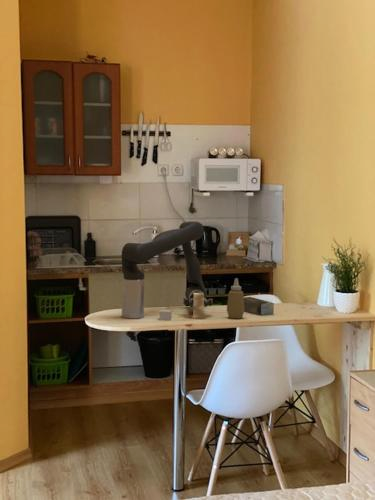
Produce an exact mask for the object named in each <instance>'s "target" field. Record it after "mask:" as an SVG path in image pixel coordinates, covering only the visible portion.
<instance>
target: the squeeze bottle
mask: <svg viewBox="0 0 375 500" xmlns="http://www.w3.org/2000/svg"><path fill="white" fill-rule="evenodd" d="M244 310H245V309H244V291H242V286H240V284H239V279H238V277H237V278H234V282H233V285H231V286H230V291H228V297H227V305H226V312H227V315H228V318H230V319H233V320H234V319H237V320H239V319H242V318H243V315H244V313H245V312H244Z"/></svg>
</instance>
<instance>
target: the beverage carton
mask: <svg viewBox="0 0 375 500" xmlns="http://www.w3.org/2000/svg"><path fill="white" fill-rule="evenodd" d="M274 305H275V304H274V302H271V301H267V300H264V299H259V298H257V297H252V296H246V297H244V309H245V310H244V313H249V314H252V315H256V316H260V317H264V316H265V317H266V316H273V315H274V311H275V309H274Z"/></svg>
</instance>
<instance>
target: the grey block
mask: <svg viewBox="0 0 375 500" xmlns="http://www.w3.org/2000/svg"><path fill="white" fill-rule="evenodd" d="M172 313H173V311H172V309H160V310H159V321H172V316H173V314H172Z"/></svg>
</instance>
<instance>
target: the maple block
mask: <svg viewBox="0 0 375 500" xmlns="http://www.w3.org/2000/svg"><path fill="white" fill-rule="evenodd" d="M204 307H205V306H204V293H194V296H193V306H192V310H193V311H192V316H193V320H204V315H205V314H204V312H205V309H204Z"/></svg>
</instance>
